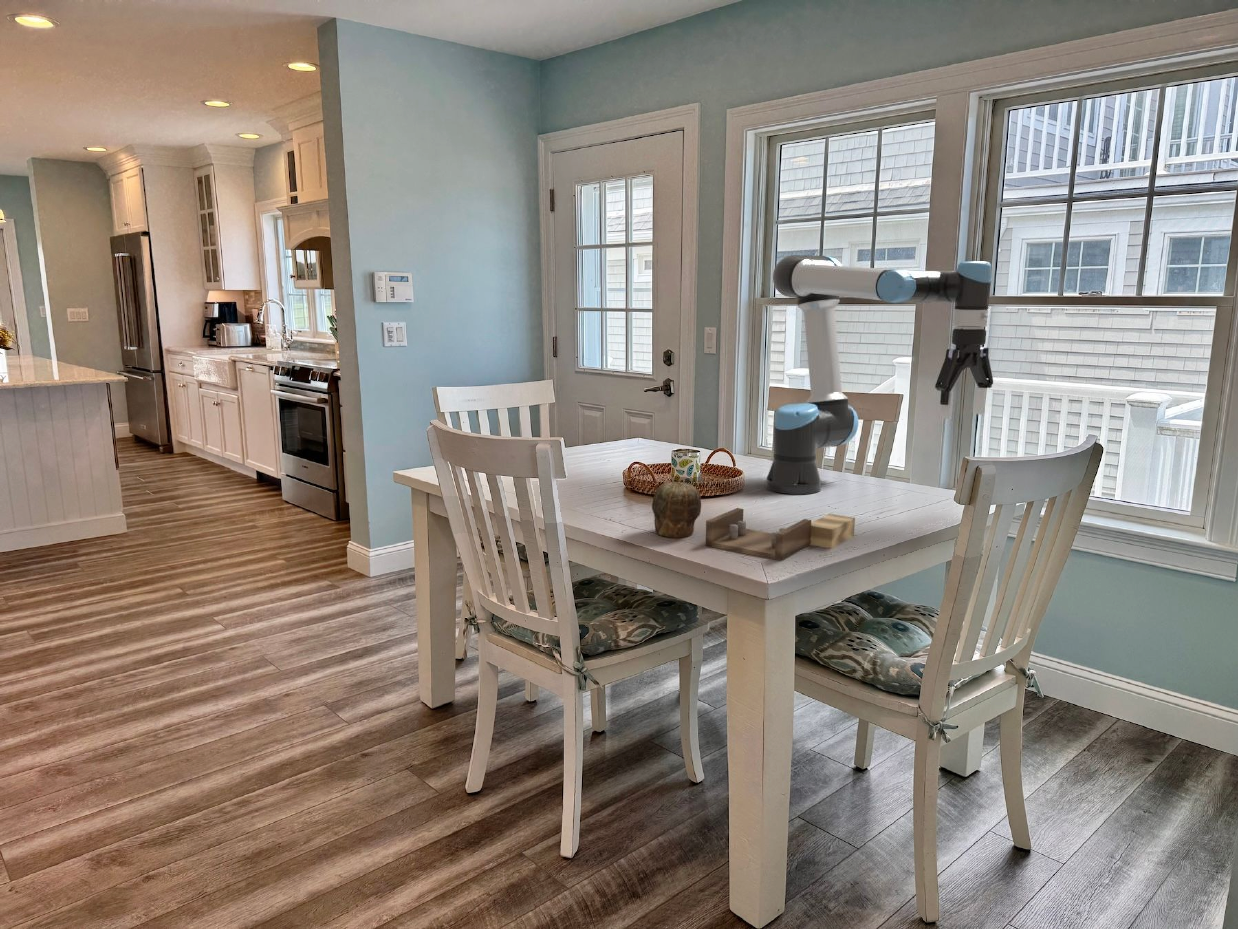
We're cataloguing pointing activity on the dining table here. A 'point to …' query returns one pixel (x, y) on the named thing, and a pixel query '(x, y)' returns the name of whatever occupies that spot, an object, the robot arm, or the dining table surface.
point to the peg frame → (756, 537)
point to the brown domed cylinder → (676, 509)
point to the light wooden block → (832, 530)
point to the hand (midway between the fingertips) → (962, 416)
